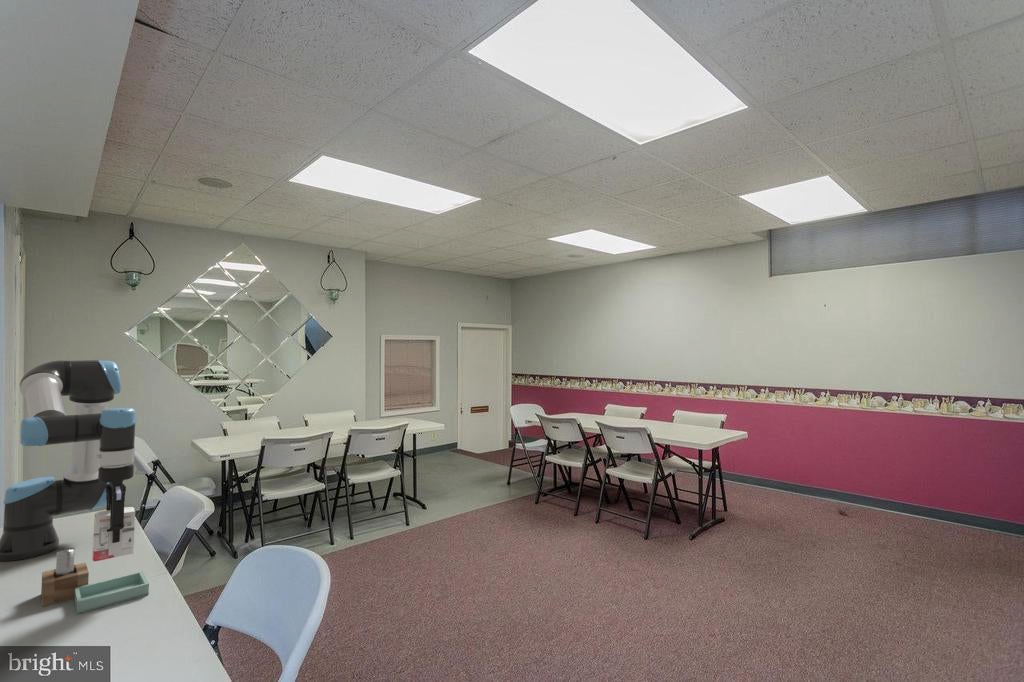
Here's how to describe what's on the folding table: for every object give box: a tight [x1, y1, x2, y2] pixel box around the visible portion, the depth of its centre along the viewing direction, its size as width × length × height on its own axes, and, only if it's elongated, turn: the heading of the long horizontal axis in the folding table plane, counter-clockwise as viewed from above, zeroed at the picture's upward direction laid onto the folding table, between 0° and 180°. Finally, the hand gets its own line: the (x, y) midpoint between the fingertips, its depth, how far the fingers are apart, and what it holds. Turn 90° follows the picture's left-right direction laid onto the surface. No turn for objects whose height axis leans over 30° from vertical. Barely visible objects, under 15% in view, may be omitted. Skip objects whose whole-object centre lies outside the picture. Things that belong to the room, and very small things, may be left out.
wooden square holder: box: [40, 562, 90, 607], centre depth 132 cm, size 9×9×6 cm
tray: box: [73, 570, 150, 615], centre depth 131 cm, size 11×15×3 cm
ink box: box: [92, 506, 136, 562], centre depth 132 cm, size 9×5×12 cm, turn 132°
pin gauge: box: [55, 547, 75, 577], centre depth 132 cm, size 4×4×12 cm
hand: (113, 550), depth 132 cm, fingers closed on ink box, 5 cm apart
